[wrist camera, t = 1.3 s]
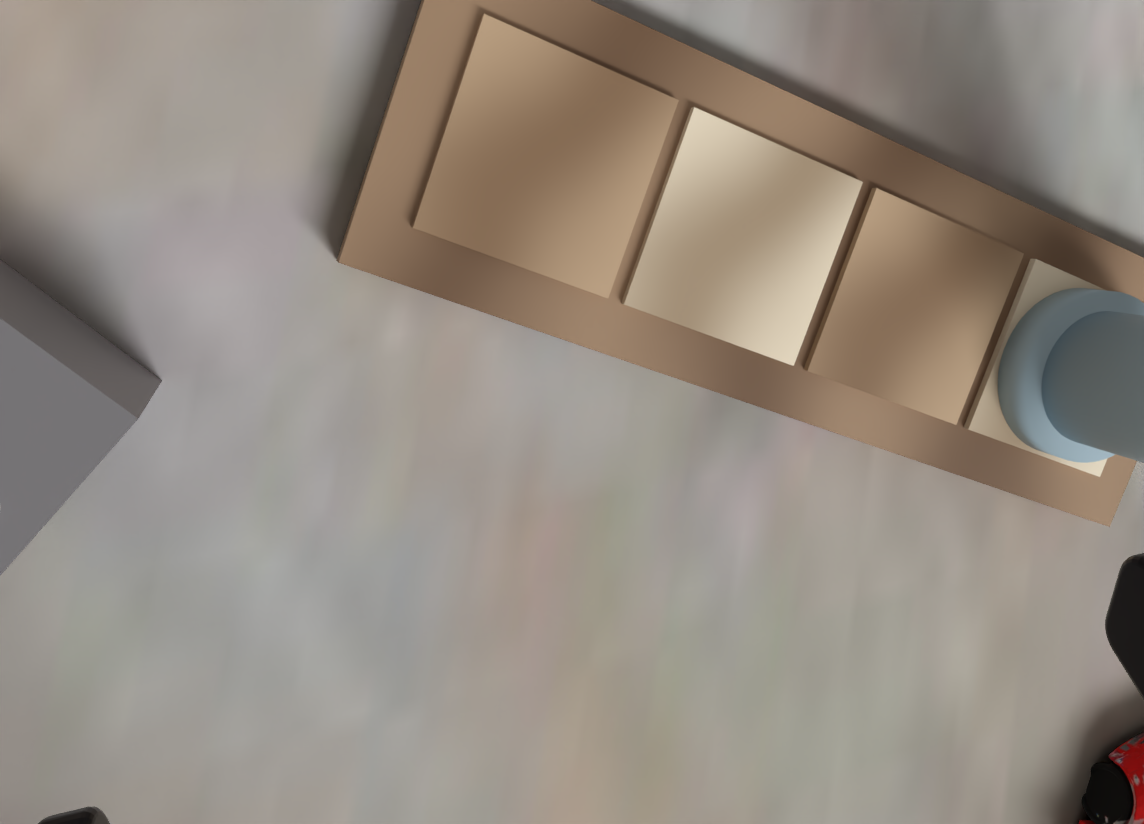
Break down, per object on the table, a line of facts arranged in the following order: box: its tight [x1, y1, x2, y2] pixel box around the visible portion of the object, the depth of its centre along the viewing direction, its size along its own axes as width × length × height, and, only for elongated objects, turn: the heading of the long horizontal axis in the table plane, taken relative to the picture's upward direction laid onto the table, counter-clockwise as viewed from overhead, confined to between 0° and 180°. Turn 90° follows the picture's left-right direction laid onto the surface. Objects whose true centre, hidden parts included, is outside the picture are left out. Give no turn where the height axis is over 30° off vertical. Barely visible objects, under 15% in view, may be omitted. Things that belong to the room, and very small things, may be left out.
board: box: [337, 0, 1144, 527], centre depth 25 cm, size 22×7×1 cm, turn 70°
